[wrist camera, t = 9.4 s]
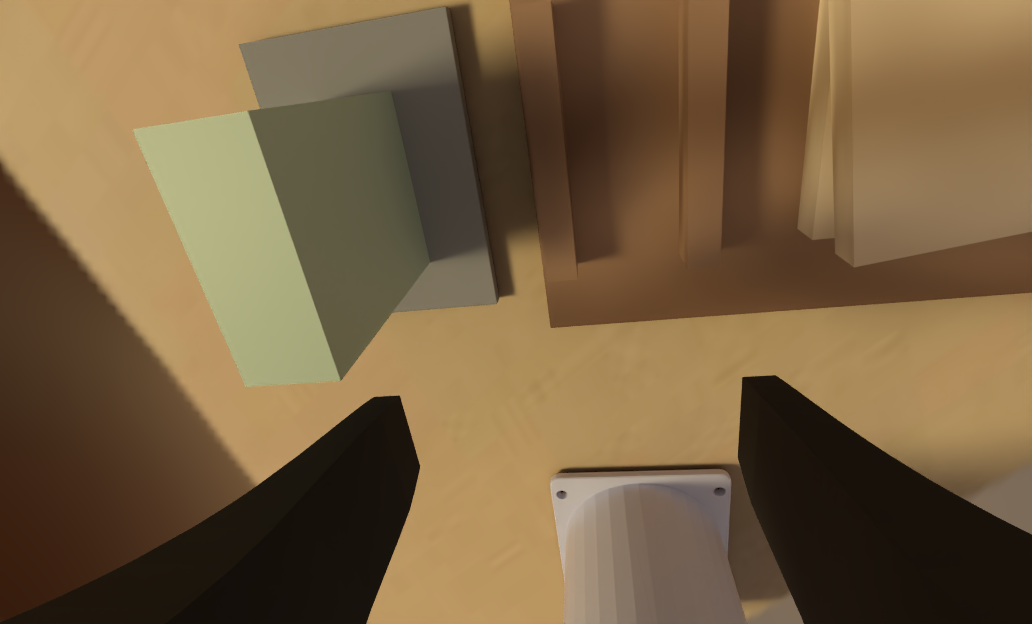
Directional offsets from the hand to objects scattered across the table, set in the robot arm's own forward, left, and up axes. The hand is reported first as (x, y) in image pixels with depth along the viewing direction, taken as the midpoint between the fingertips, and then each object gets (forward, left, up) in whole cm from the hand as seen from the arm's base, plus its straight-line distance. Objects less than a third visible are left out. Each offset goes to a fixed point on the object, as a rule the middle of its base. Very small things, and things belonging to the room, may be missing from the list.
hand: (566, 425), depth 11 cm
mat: (+4, +7, -9) cm, 12 cm away
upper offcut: (+4, -10, -7) cm, 13 cm away
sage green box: (+4, +7, -9) cm, 12 cm away
